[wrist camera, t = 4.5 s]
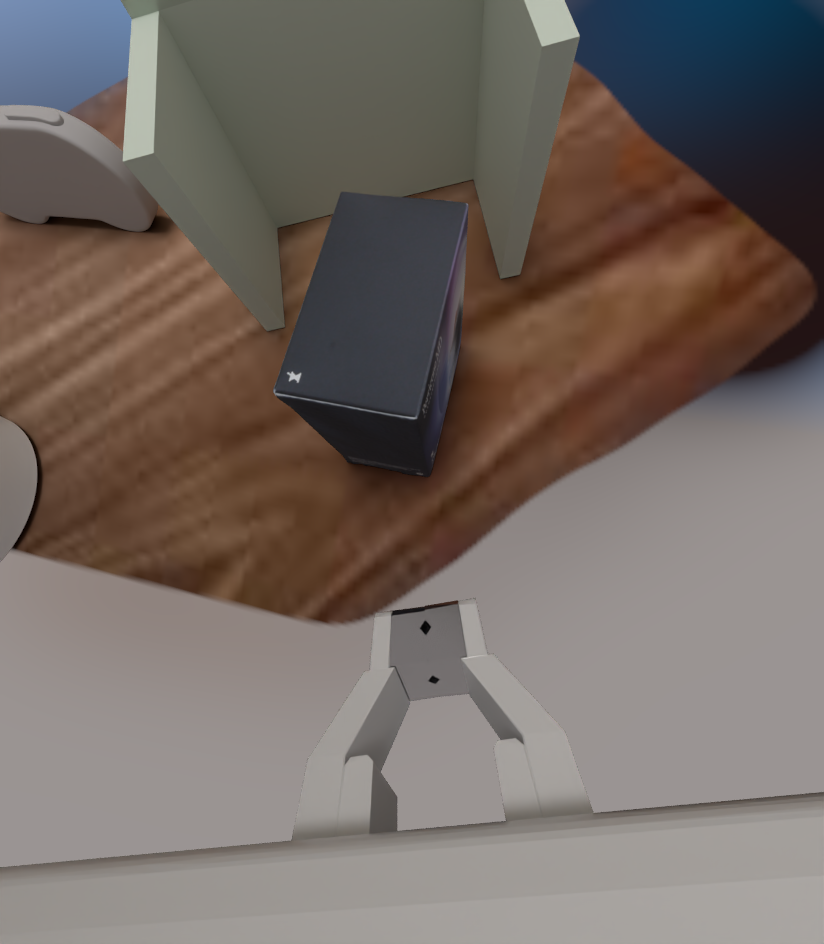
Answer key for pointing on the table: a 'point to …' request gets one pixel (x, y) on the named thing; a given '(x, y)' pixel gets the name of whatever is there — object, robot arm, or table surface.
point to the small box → (381, 330)
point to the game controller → (66, 171)
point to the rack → (339, 116)
